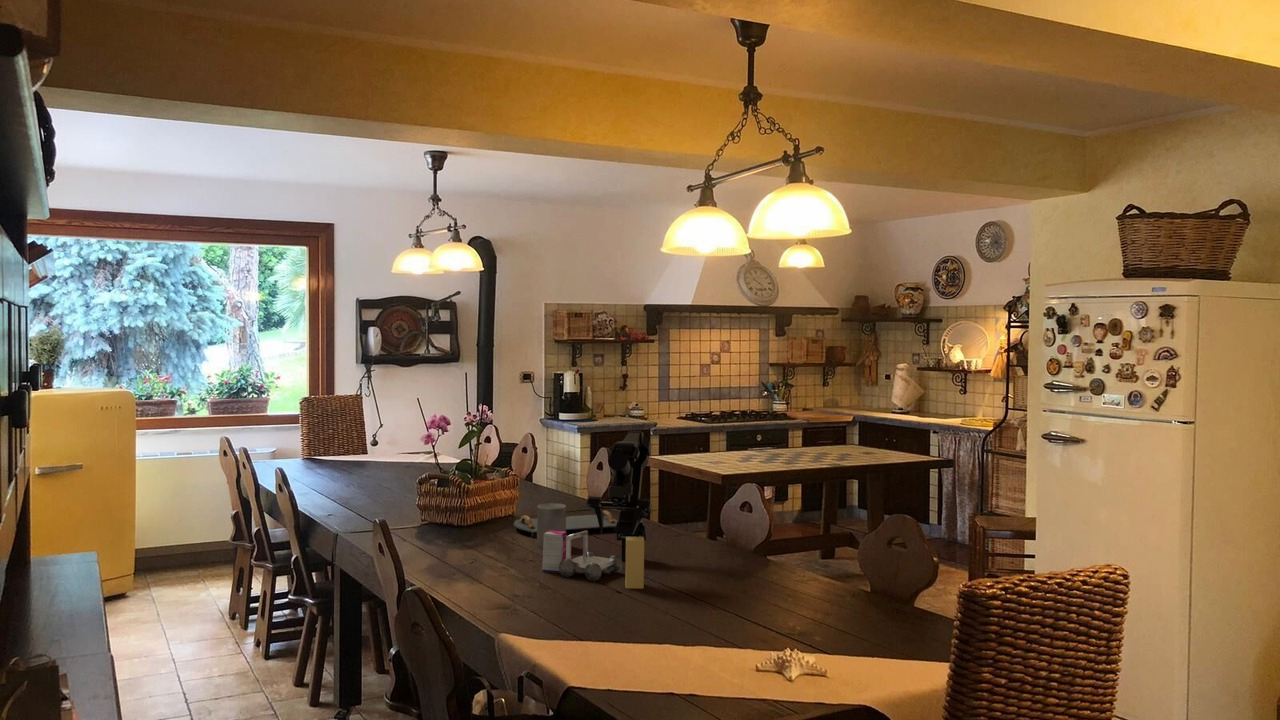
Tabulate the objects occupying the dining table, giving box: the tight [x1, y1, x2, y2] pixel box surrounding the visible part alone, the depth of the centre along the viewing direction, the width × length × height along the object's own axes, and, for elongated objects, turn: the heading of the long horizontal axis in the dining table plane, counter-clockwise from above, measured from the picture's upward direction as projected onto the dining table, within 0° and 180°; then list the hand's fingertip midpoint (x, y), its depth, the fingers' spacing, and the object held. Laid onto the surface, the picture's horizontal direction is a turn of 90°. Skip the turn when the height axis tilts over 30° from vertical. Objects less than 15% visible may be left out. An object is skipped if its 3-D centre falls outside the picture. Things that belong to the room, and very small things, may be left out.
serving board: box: [513, 510, 618, 538], centre depth 350 cm, size 39×23×6 cm, turn 114°
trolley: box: [559, 529, 624, 582], centre depth 283 cm, size 13×14×12 cm
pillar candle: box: [536, 501, 567, 550], centre depth 320 cm, size 10×10×15 cm
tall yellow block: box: [624, 536, 645, 589], centre depth 270 cm, size 5×5×14 cm
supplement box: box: [542, 530, 568, 574], centre depth 287 cm, size 6×6×12 cm
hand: (616, 533), depth 278 cm, fingers open, 9 cm apart
